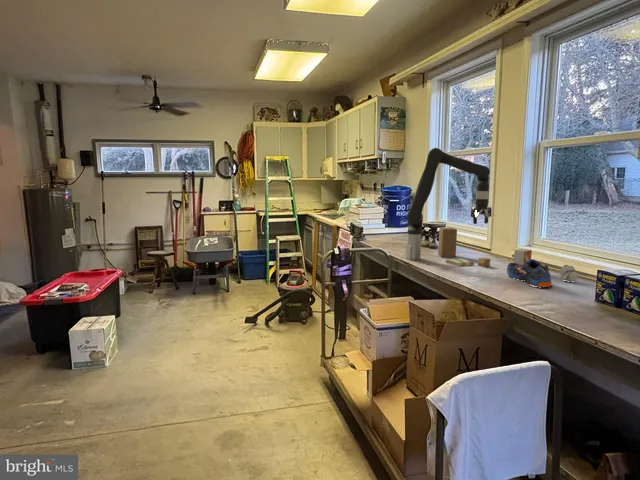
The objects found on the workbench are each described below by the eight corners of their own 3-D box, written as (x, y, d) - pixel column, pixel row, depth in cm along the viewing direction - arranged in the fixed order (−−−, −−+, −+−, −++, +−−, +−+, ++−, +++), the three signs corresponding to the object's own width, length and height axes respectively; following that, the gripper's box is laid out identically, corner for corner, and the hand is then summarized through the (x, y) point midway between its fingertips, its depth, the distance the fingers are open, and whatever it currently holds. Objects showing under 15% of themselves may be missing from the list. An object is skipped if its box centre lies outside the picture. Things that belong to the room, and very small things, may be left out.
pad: (457, 266, 259) (457, 263, 259) (445, 262, 270) (445, 259, 270) (473, 265, 263) (473, 261, 263) (461, 261, 274) (461, 258, 274)
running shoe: (519, 274, 240) (521, 252, 238) (561, 288, 208) (563, 264, 206) (500, 275, 237) (502, 253, 235) (539, 290, 206) (542, 265, 204)
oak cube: (483, 267, 257) (483, 259, 256) (477, 265, 261) (478, 258, 261) (489, 266, 258) (490, 259, 258) (484, 265, 263) (484, 257, 262)
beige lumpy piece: (573, 284, 222) (566, 268, 228) (581, 279, 217) (573, 262, 222) (563, 285, 221) (556, 268, 226) (571, 279, 216) (564, 263, 221)
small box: (522, 273, 241) (524, 251, 239) (512, 271, 246) (514, 249, 244) (530, 271, 245) (532, 249, 243) (520, 269, 251) (521, 248, 249)
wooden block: (456, 257, 287) (457, 229, 284) (441, 257, 287) (442, 229, 284) (451, 255, 297) (453, 227, 294) (437, 254, 297) (439, 227, 294)
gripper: (477, 198, 257) (475, 224, 259) (495, 198, 261) (493, 223, 264) (468, 198, 264) (467, 223, 266) (486, 197, 268) (485, 222, 271)
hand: (480, 223), depth 265 cm, fingers open, 8 cm apart
